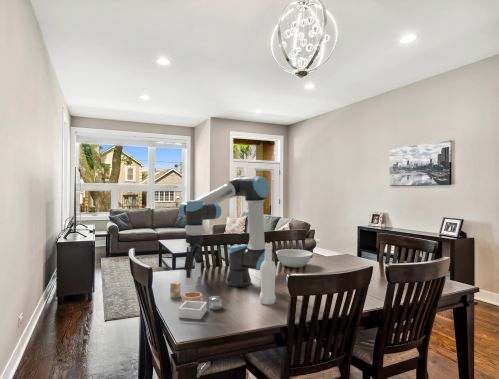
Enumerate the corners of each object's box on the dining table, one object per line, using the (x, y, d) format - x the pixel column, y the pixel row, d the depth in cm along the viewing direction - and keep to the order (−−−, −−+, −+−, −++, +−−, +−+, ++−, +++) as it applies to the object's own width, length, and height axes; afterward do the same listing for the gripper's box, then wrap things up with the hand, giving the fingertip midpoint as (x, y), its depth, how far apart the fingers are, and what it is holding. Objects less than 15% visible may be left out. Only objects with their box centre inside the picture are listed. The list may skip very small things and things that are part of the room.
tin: (223, 306, 164) (223, 296, 164) (220, 311, 158) (220, 300, 158) (210, 306, 165) (210, 295, 165) (207, 310, 159) (207, 299, 159)
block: (180, 297, 177) (180, 281, 177) (177, 299, 173) (177, 284, 173) (173, 296, 178) (173, 281, 178) (170, 299, 174) (170, 283, 174)
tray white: (206, 312, 157) (206, 302, 157) (200, 321, 147) (200, 309, 147) (185, 311, 158) (185, 300, 158) (178, 319, 148) (178, 308, 148)
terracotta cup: (203, 303, 169) (203, 292, 169) (198, 309, 160) (198, 298, 160) (186, 302, 170) (186, 291, 170) (180, 308, 161) (180, 297, 161)
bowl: (272, 262, 262) (272, 249, 262) (306, 261, 265) (306, 249, 265) (279, 271, 235) (279, 256, 234) (317, 270, 238) (317, 256, 237)
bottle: (258, 299, 175) (259, 242, 174) (274, 299, 175) (275, 242, 175) (260, 305, 167) (261, 245, 166) (276, 305, 167) (277, 245, 167)
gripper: (194, 230, 166) (193, 273, 167) (176, 237, 142) (176, 288, 142) (208, 230, 165) (208, 273, 166) (194, 238, 141) (193, 289, 141)
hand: (193, 280), depth 154 cm, fingers open, 13 cm apart
